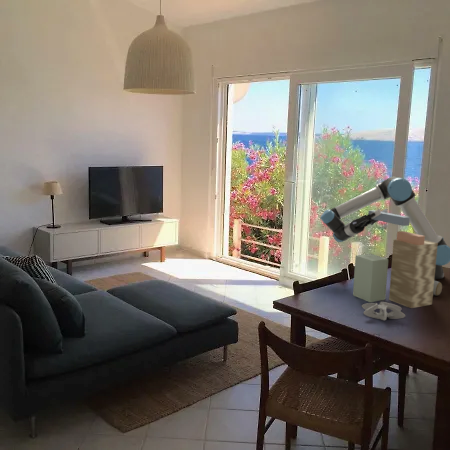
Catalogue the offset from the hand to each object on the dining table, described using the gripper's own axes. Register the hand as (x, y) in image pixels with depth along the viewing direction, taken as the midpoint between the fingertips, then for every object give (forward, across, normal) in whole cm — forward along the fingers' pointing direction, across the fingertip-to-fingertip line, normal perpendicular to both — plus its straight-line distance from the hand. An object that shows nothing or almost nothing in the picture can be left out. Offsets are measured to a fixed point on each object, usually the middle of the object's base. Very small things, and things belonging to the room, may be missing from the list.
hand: (383, 211), depth 264 cm
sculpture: (+5, +25, -52) cm, 58 cm away
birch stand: (-4, -3, -46) cm, 46 cm away
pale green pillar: (-16, +11, -39) cm, 44 cm away
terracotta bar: (+11, +1, -20) cm, 23 cm away
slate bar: (+1, 0, -6) cm, 6 cm away
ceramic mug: (-9, -24, -43) cm, 50 cm away
